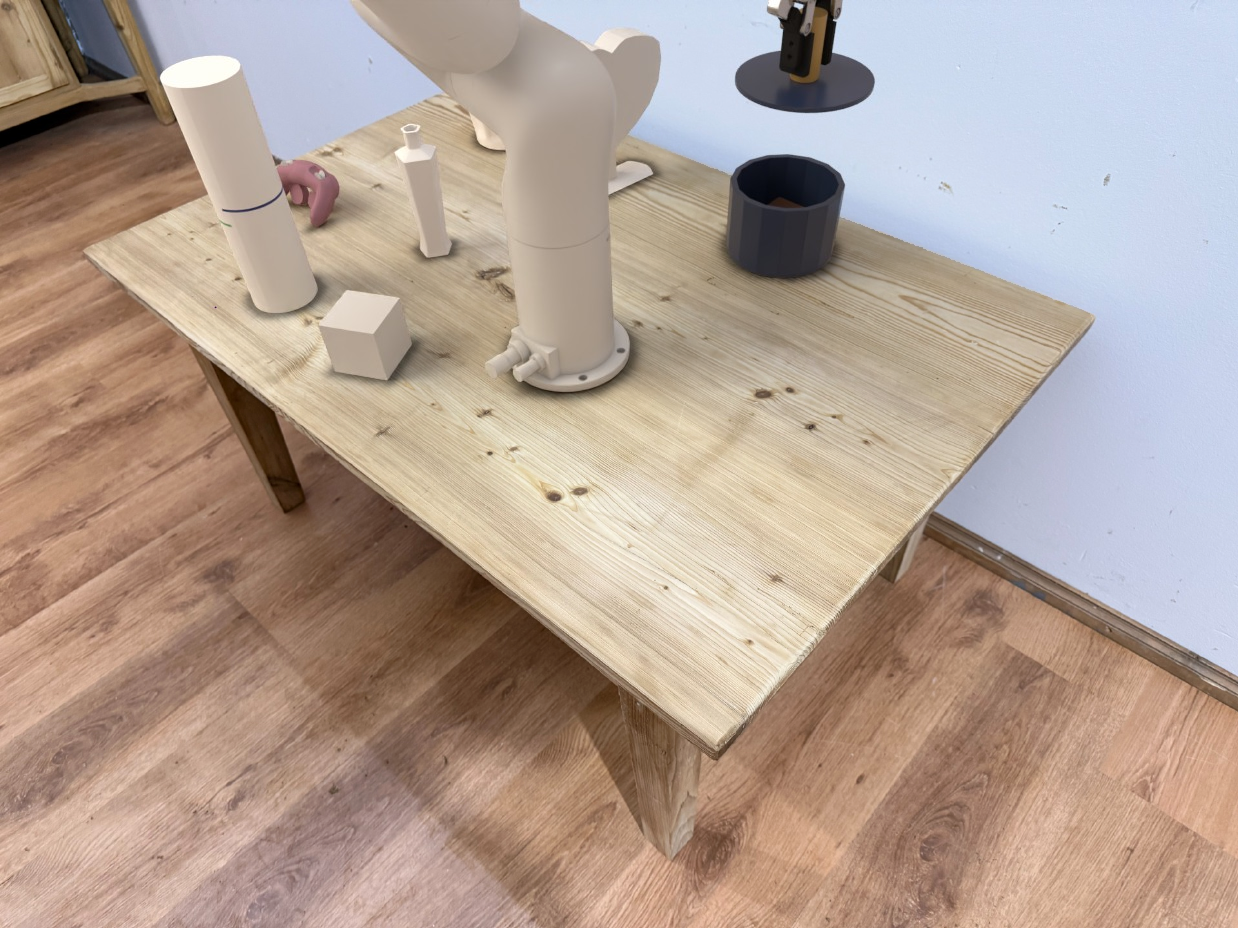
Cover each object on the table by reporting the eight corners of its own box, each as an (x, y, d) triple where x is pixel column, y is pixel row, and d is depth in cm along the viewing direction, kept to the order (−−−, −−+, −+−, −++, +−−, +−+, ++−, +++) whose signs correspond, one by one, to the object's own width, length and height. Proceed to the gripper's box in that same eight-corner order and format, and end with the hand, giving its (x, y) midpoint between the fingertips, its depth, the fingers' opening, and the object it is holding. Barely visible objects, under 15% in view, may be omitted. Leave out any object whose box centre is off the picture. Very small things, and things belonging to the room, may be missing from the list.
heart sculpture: (639, 155, 117) (637, 16, 103) (664, 169, 114) (665, 27, 101) (549, 196, 110) (535, 52, 97) (574, 211, 107) (562, 65, 94)
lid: (821, 133, 78) (832, 54, 73) (706, 92, 85) (709, 17, 79) (899, 84, 84) (915, 7, 79) (787, 49, 91) (795, -24, 86)
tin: (791, 291, 94) (801, 224, 88) (705, 251, 100) (708, 185, 94) (852, 244, 100) (866, 178, 94) (767, 208, 106) (774, 144, 100)
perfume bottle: (409, 255, 101) (380, 135, 90) (428, 236, 104) (402, 117, 93) (442, 263, 100) (417, 141, 89) (461, 243, 103) (438, 123, 92)
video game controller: (342, 227, 109) (347, 171, 106) (314, 228, 105) (318, 170, 102) (289, 207, 113) (292, 153, 110) (260, 207, 109) (262, 151, 106)
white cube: (361, 336, 91) (346, 289, 87) (412, 344, 90) (400, 297, 86) (334, 371, 87) (317, 325, 83) (387, 380, 86) (373, 333, 82)
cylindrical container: (300, 316, 94) (215, 90, 76) (241, 309, 95) (144, 85, 77) (328, 279, 99) (254, 58, 80) (271, 273, 100) (186, 53, 81)
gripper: (849, -185, 75) (820, 32, 89) (735, -147, 68) (722, 85, 81) (925, -175, 72) (882, 50, 85) (814, -133, 64) (786, 107, 77)
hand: (804, 65), depth 83 cm, fingers closed on lid, 2 cm apart
